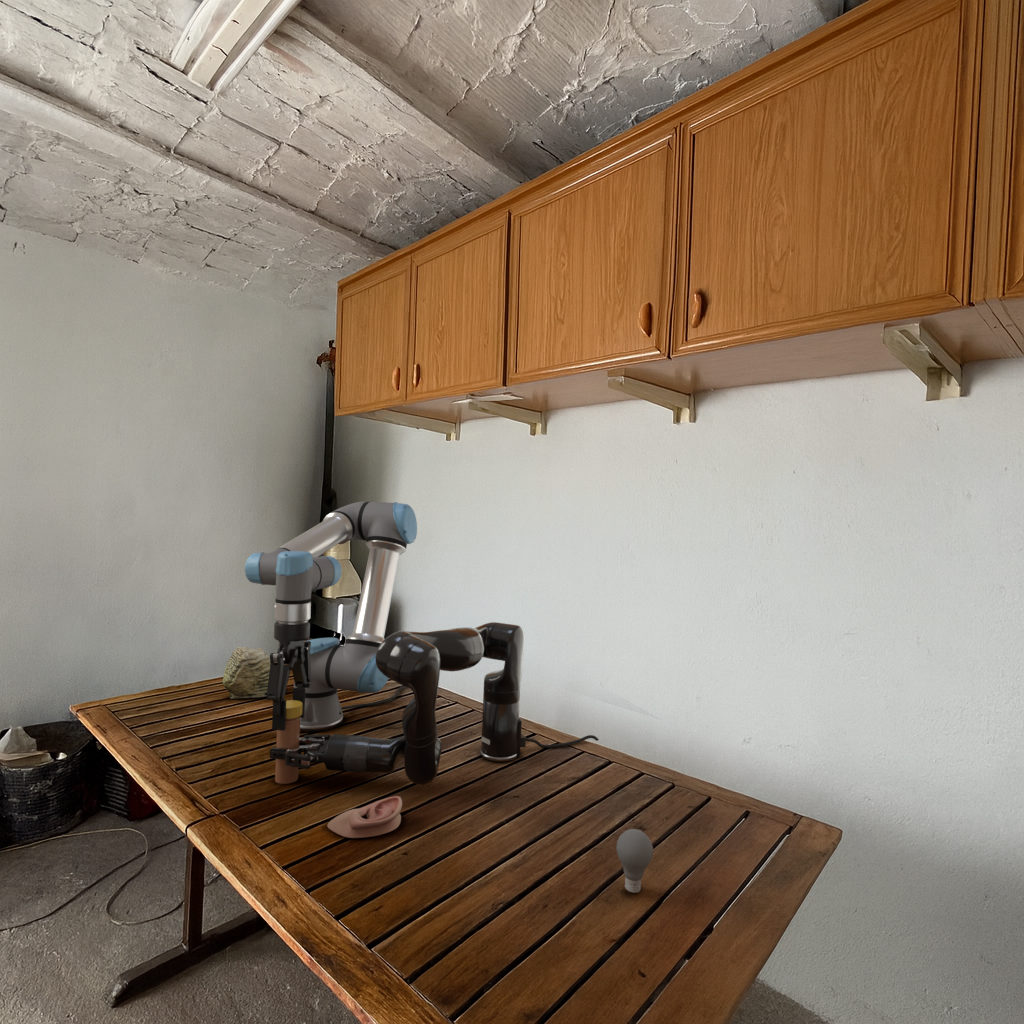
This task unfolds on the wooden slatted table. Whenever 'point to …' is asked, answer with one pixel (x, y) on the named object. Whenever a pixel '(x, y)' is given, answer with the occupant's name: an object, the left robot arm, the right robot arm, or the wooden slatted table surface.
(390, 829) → the anatomical model
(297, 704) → the lid
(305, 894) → the wooden slatted table surface
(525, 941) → the wooden slatted table surface
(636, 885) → the light bulb
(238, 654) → the fossil
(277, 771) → the jar
